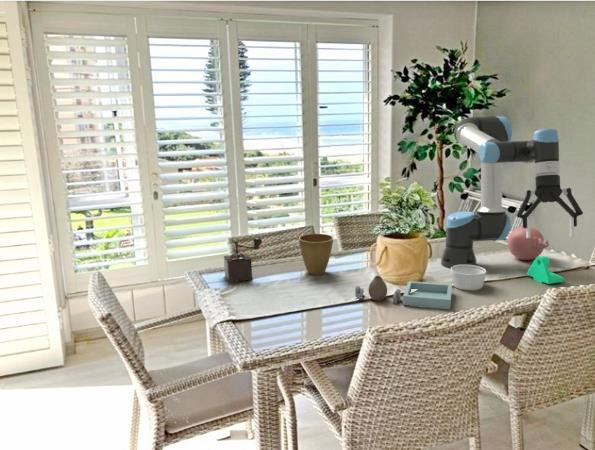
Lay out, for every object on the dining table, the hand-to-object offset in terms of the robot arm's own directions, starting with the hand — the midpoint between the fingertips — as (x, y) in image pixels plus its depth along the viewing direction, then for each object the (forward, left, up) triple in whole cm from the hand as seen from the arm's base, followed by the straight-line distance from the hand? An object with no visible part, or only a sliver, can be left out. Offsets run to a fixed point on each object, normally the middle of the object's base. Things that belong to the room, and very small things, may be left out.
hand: (549, 237), depth 173 cm
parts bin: (+2, -40, -25) cm, 47 cm away
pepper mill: (-6, -118, -25) cm, 120 cm away
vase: (+6, -58, -25) cm, 63 cm away
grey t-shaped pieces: (+6, -58, -25) cm, 63 cm away
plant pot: (-19, -89, -25) cm, 94 cm away
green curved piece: (-30, +4, -25) cm, 39 cm away
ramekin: (-16, -26, -25) cm, 39 cm away
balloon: (-56, 0, -25) cm, 61 cm away
